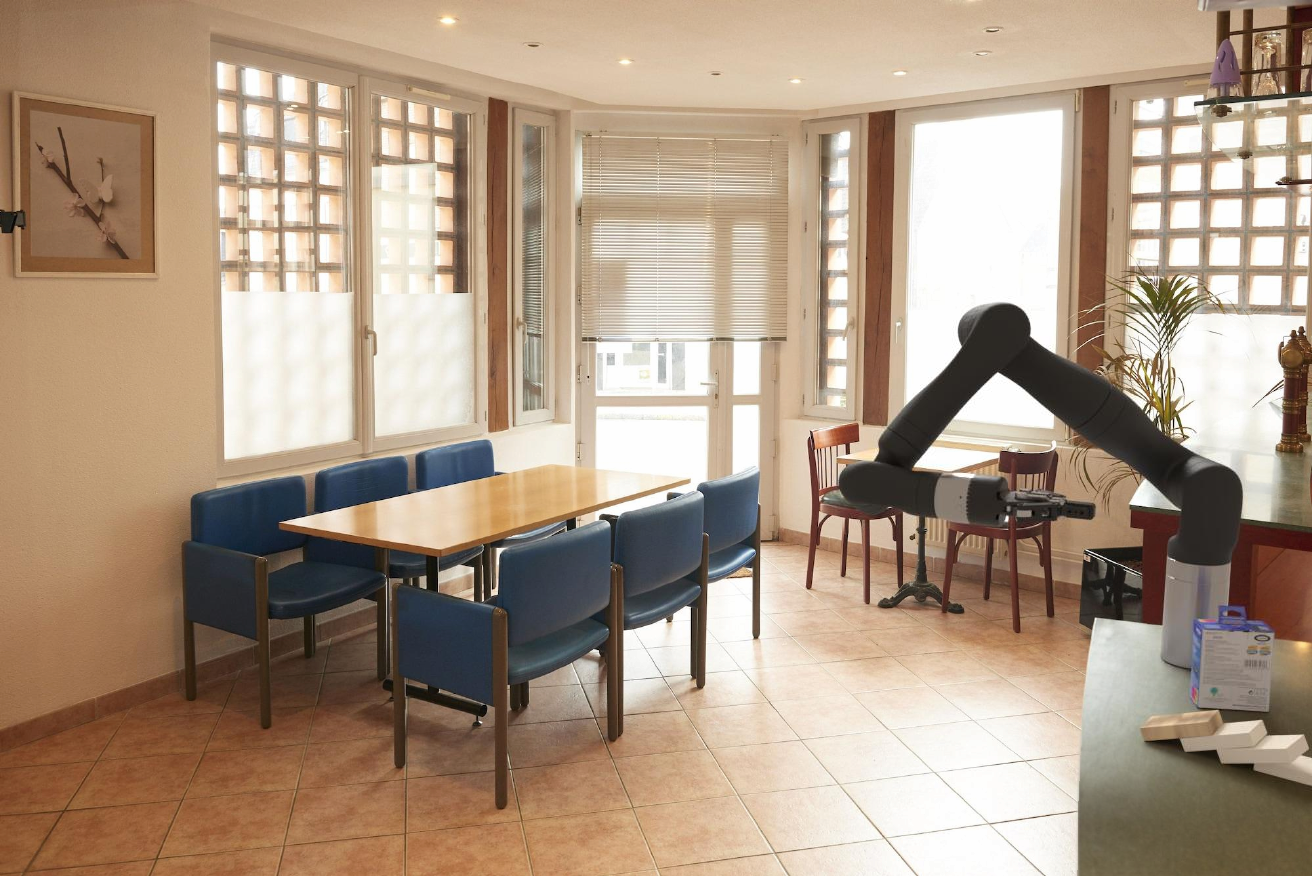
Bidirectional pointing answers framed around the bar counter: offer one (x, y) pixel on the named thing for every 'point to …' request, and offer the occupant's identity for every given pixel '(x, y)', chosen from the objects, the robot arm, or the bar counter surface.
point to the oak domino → (1181, 725)
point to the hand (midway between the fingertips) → (1094, 511)
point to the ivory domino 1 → (1228, 737)
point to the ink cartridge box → (1231, 662)
